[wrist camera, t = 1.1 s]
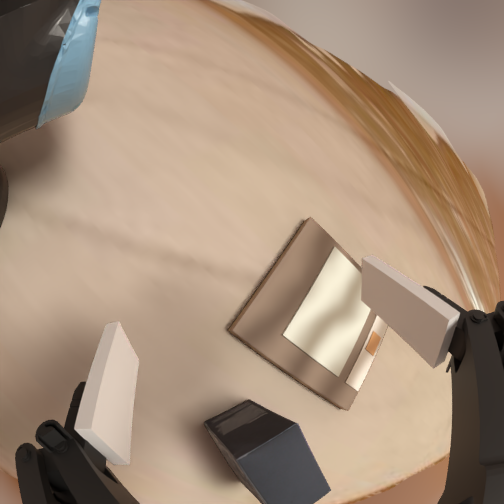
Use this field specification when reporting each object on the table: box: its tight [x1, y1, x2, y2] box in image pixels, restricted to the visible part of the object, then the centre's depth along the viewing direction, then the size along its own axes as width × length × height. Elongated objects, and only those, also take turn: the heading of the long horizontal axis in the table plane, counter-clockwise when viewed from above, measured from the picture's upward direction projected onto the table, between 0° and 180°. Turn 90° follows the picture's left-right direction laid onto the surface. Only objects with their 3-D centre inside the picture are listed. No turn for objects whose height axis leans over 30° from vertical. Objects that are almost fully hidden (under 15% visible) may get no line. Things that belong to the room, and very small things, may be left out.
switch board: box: [228, 217, 388, 411], centre depth 34 cm, size 20×18×2 cm
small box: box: [204, 400, 331, 504], centre depth 21 cm, size 11×6×10 cm, turn 25°
